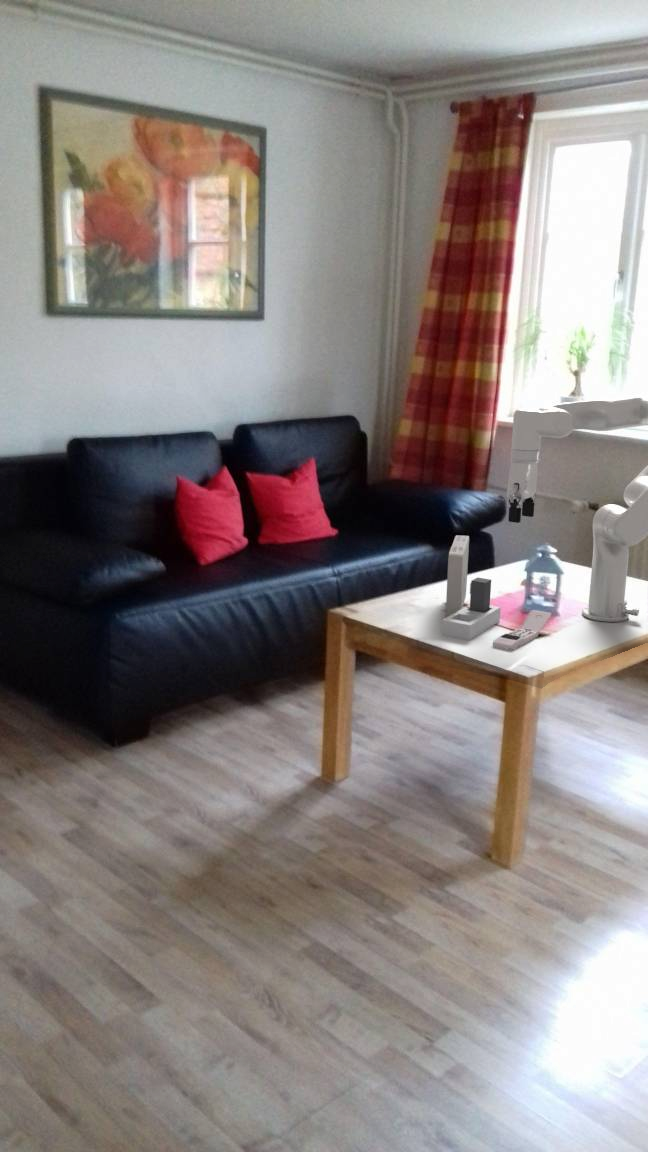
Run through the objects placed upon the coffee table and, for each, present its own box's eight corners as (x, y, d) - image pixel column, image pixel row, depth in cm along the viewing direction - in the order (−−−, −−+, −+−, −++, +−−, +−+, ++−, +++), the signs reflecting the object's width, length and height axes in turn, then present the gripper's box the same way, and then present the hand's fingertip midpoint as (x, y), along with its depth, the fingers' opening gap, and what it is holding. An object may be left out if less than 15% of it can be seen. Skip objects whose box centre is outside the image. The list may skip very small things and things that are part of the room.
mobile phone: (553, 612, 270) (509, 634, 251) (551, 634, 272) (508, 657, 252) (532, 608, 274) (487, 630, 255) (530, 629, 275) (486, 652, 256)
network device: (467, 627, 275) (471, 555, 270) (434, 625, 277) (438, 553, 272) (473, 602, 299) (477, 535, 294) (443, 600, 301) (446, 533, 296)
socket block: (499, 624, 278) (500, 606, 277) (469, 643, 262) (470, 624, 260) (472, 619, 282) (473, 601, 281) (441, 638, 266) (441, 619, 264)
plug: (488, 622, 276) (491, 579, 273) (482, 626, 273) (485, 582, 270) (473, 619, 279) (475, 577, 276) (466, 623, 276) (469, 580, 272)
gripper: (523, 451, 281) (519, 512, 285) (499, 458, 266) (495, 522, 271) (550, 453, 277) (545, 515, 281) (527, 460, 263) (522, 526, 267)
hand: (521, 519), depth 276 cm, fingers open, 9 cm apart
